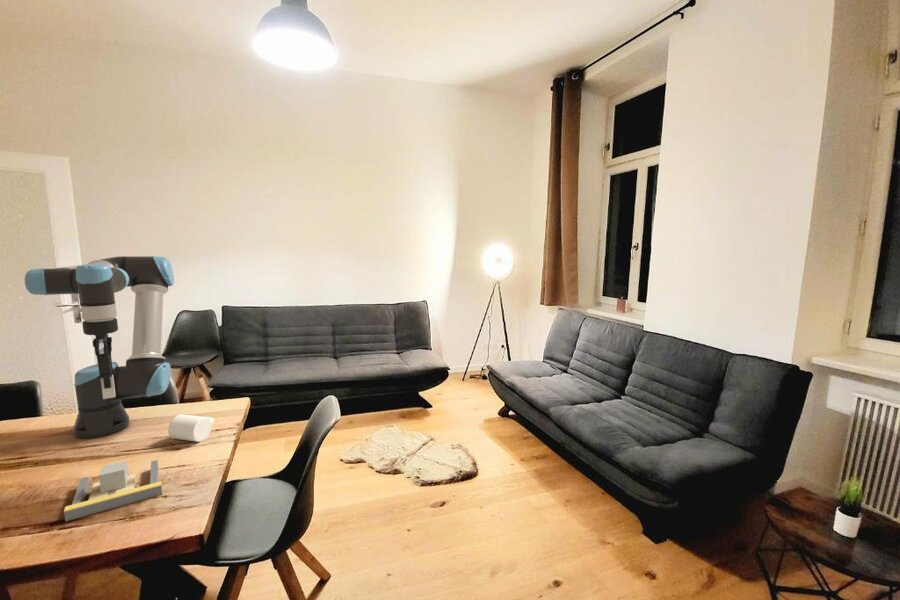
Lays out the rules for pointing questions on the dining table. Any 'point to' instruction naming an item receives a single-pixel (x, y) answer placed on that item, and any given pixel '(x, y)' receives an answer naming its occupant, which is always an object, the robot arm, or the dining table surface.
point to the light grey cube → (113, 476)
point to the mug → (190, 427)
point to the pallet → (97, 490)
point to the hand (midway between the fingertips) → (109, 397)
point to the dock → (111, 497)
